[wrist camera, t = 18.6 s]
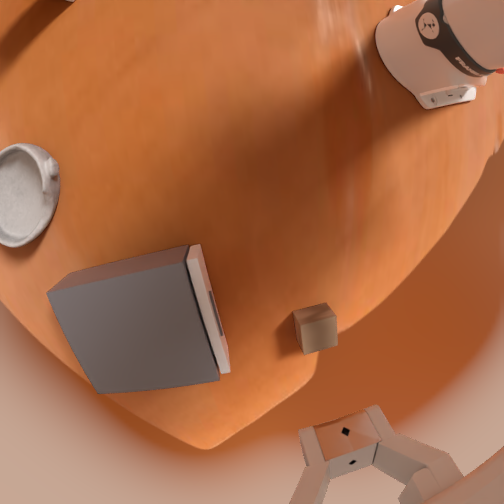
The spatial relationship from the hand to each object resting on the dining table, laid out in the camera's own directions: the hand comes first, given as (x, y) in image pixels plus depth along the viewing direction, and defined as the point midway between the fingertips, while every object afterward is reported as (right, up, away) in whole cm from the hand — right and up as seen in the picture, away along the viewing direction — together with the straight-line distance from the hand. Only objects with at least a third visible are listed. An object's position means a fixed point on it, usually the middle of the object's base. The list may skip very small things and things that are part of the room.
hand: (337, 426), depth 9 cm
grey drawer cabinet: (-18, -2, +28) cm, 34 cm away
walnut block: (+5, -4, +32) cm, 32 cm away
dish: (-35, +15, +22) cm, 44 cm away
